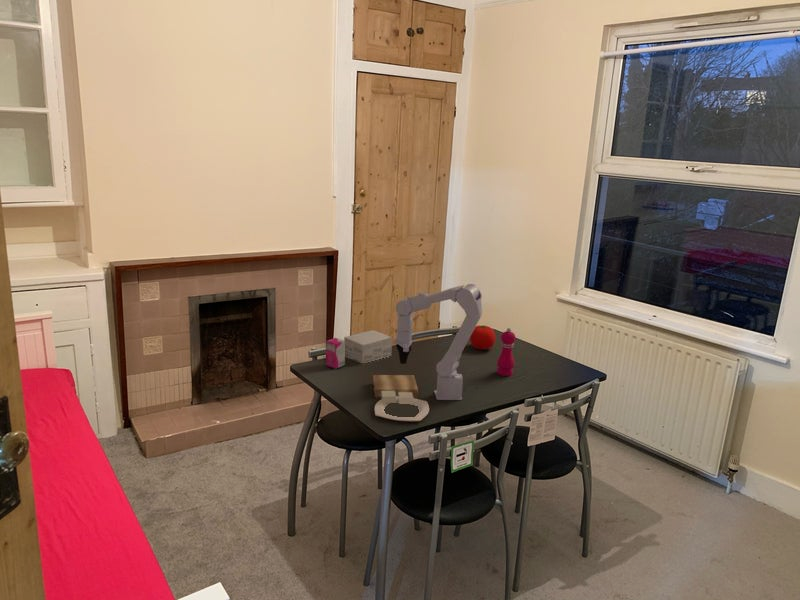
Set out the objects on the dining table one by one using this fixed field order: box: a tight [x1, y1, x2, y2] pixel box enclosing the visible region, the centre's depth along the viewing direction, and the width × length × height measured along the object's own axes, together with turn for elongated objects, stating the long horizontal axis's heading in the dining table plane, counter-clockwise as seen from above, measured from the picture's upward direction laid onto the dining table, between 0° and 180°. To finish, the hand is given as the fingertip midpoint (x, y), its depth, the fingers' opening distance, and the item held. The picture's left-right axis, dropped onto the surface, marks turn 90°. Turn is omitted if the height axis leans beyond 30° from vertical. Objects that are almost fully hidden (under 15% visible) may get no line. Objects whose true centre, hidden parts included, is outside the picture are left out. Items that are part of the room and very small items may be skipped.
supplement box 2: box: [343, 329, 393, 364], centre depth 263 cm, size 17×13×9 cm
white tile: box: [398, 392, 413, 404], centre depth 217 cm, size 5×5×2 cm
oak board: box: [372, 374, 419, 399], centre depth 229 cm, size 16×14×4 cm
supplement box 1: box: [325, 337, 346, 370], centre depth 250 cm, size 6×6×12 cm
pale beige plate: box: [373, 396, 430, 422], centre depth 212 cm, size 19×19×2 cm
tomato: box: [469, 324, 496, 350], centre depth 279 cm, size 12×13×11 cm
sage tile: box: [380, 391, 396, 403], centre depth 217 cm, size 5×5×2 cm
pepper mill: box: [496, 327, 517, 377], centre depth 249 cm, size 7×7×20 cm
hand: (403, 363), depth 230 cm, fingers closed
